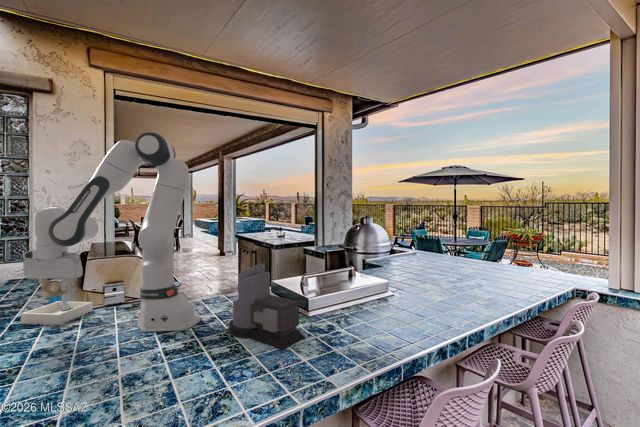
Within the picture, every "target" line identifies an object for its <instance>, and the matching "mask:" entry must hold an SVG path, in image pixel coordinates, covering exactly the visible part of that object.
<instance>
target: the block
mask: <svg viewBox="0 0 640 427" xmlns="http://www.w3.org/2000/svg"><path fill="white" fill-rule="evenodd" d="M46 281H47V282H43V283H41V284H40V288H41V297H42V298H46V297H57V296H60V295H63V294H66V293H67V294H68V288H67V289H66V290H64V291H59V286H61V284H62V281H61V279H51V280H46Z"/></svg>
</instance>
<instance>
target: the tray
mask: <svg viewBox="0 0 640 427" xmlns="http://www.w3.org/2000/svg"><path fill="white" fill-rule="evenodd" d="M67 301H68V302H66V303H67V304H68V305H69V306H70V307H71V308H73V309H71V310H68V311H65V312H62V311H61V307H62V301H55V302H53V303H51V304H48V305H47V304H46V305H42V306H40V307H36V308H34V309H30V310H27V311H24V312H21V313H20V325H37V324H40V325H41V326H42V325H44V326H60V325H61V326H62V325H63V323H64V324H66V323H68V322H71V321H73V320H75V319H74V318H76V319H78V318H80V317H79V316H81V315H83V316H85V315H87V314H86V313H88V312H90V311H93V312H94V307H93V306H94V302H93V301H69V300H67ZM90 313H91V312H90ZM84 314H85V315H84ZM88 314H89V313H88ZM77 317H78V318H77ZM81 317H82V316H81ZM72 319H73V320H72ZM70 320H71V321H70ZM65 322H66V323H65Z"/></svg>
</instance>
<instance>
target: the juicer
mask: <svg viewBox="0 0 640 427" xmlns="http://www.w3.org/2000/svg"><path fill="white" fill-rule="evenodd" d="M270 275H271V273H270V272H268V271H266V272H265V264H264V263H259V264H256V265H253V266H251V267H248V268H246V269H245V270H242V271H241V272H239V274H238V275H237V288H238V289H237V295H238V296H237V299H234V300H233V301H232V319H231V320H230V321H229V322H228V327H227V328H226V329H225V332H226V333H228V334H230V336H232V337H234V338H237V339H250V340H252V341H255V342H259V343H261V344H263V345H267V346H270V347H273V348H275V349H278V350H280V351H284V350H286V349H288V348H289V347H292V346H293V345H296V344H297V343H299V342H301V341H303V340H304V339H306V337H305V335H304V334H303V333H302V332H301V331H299V330H298V329H297V326H299V325H300V305H299V301H298V300H293V299H291V298H285V297H280V296H278V295H277V296H276V295H272V294H271V293H270V292H271V285H270V284H271V283H270V282H271V280H270V279H271V276H270Z"/></svg>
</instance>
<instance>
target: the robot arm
mask: <svg viewBox="0 0 640 427" xmlns="http://www.w3.org/2000/svg"><path fill="white" fill-rule="evenodd" d="M144 164H145V165H147V166H150V167H155V168H156V170H157V177H156V180H155V182H154V183H155V184H154V186H153V189H152V193H151V197H150V201H149V204H148V207H147V209H146V210H145V211H146V212H145V215H144V217H143V220H142V222H141V226H140V229H139V232H138V236H137V237H138V238H137V241H138V244H139V246H140V248H142V257H141V258H142V259H141V266H140V269H141V270H140V272H141V287H140V289H139V290H140V291H139V292H140V293H139V294H140V295H139V296H140V303H141V304H140V311H139V316H138V317H139V318H138V322H137V325H136V326H137V328H138V329H140V332H142V333H146V332H170V331H171V332H172V331H173V332H174V331H186V330H188V329H190V328H192V327H194V326H195V325H196V324H198V323H199V322H200V321H201V315H199V314H195V308H194V304H192V302H190V301H188V300H187V299H186V298H184V297H183V296H182V295H180V294H179V290H180V289H181V286H178V287H177V286H176V285H175V283H174V280H175V279H174V257H175V256H174V252H175V250H174V248H175V228H176V225H177V222H178V218H179V216H180V213H181V210H182V205H183V201H184V198H185V195H186V190H187V187H188V180H189V167H188V165H187V163H185V162H184V161H182V160H179V159H177V158H176V151H175V148H174V147H173V145H171V143H170V142H169V141H168V140H167V139H166V138H164V137H163V136H162V135H161V134H158V133H156V132H150V131H146V132H143V133H142V134H140V135H139V136H138V137H137V138H136V140H135V142H134V141H131V140H127V139H122V140H118V141H117V142H116V143H115V144H114V145H113V146H112V148H110V149H109V151H108V152H107V153H106V155H104V157H103V159H102V161H101V162H100V163H99V165H98V167H97V168H96V170H95V172H94V173H93V175H91V176H92V177H91V178H90V180H88V182H87V184H86V185H85V186H84V188H82V190H81V191H80V193H79V194H78V195H77V197H76V198H75V199H74V201H73V202H72V203H71V205H70V207H69V208H68V209H66V208H64V207H62V206H53V207H45V208H42V209H40V210H38V211H37V212H36V214H35V218H34V233H35V236H36V243H35V248H34V249H31V250H29V251H26V252H23V253H22V258H23V259H24V260H23V263H22V266H23V267H22V269H23V270H22V271H23V276H24V277H25V278H26V279H29V280H30V279H31V280H33V279H35V280H37V279H38V283H39V284H40V285H41V283H43V282H47V281H49V280H48V279H51V280H61V281H62V284H61V286H59V291H64V290H66V289H67V290H68V283H69V282H70V280H71V279H77V278H81V277H82V276H83V274H84V273H83V272H84V271H83V265H82V261H81V255H79V254H78V253H77V252H75V251H70V252H69V247H72V246H74V245H77V244H80V243H83V242H86V241H89V240H91V239H93V238H94V237H95V236H96V235H97V233H98V230H99V226H98V222H97V221H96V220H95V219H94V218H93V217H91V216H92V214H93V213H94V211H95V210H96V209H97V207H98V206H99V205H100V204H101V202H102V201H103V200H104V199H105V198H106V197H108V196H110V195H112V194H114V193H117V192H120V191H122V190H123V189H124V188H125V187H126V186H127V185H128V184H129V183H130V182H131V180H132V179H133V177H134V175H135V173H136V172H137V170H138V169H139V168H140V167H141V166H142V165H144Z"/></svg>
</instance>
